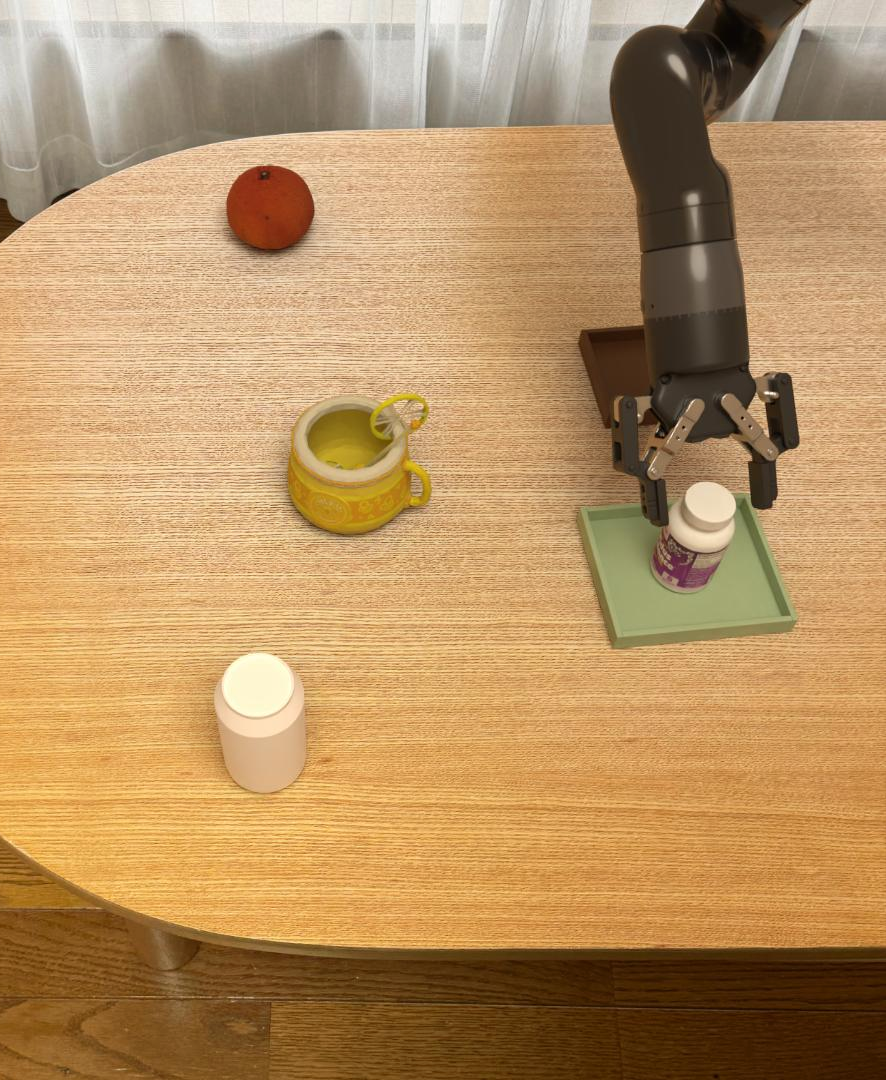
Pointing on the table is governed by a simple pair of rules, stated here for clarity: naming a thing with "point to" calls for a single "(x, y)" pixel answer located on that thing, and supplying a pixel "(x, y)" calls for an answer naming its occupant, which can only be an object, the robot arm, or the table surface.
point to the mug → (354, 462)
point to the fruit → (270, 207)
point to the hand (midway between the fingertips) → (711, 516)
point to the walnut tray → (616, 366)
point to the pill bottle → (694, 538)
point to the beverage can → (261, 722)
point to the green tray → (670, 617)
